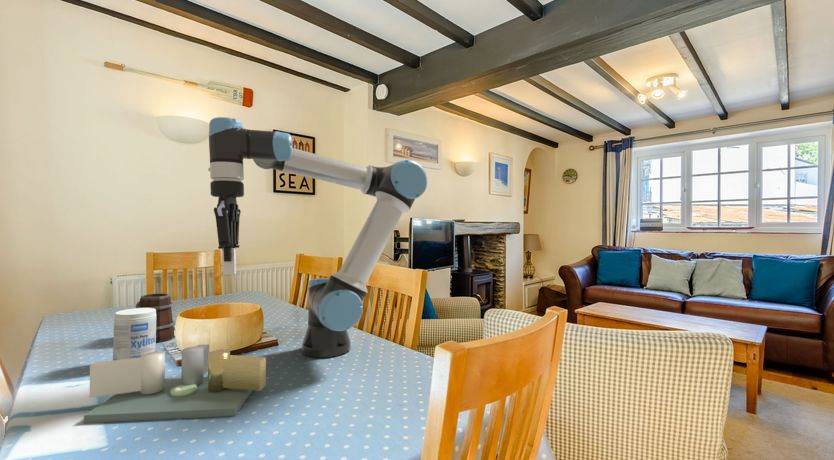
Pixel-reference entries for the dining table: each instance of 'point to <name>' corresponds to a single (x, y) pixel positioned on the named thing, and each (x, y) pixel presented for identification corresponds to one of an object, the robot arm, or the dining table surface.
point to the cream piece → (128, 375)
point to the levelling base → (174, 396)
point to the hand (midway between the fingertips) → (229, 273)
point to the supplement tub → (134, 333)
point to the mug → (160, 314)
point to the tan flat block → (235, 371)
